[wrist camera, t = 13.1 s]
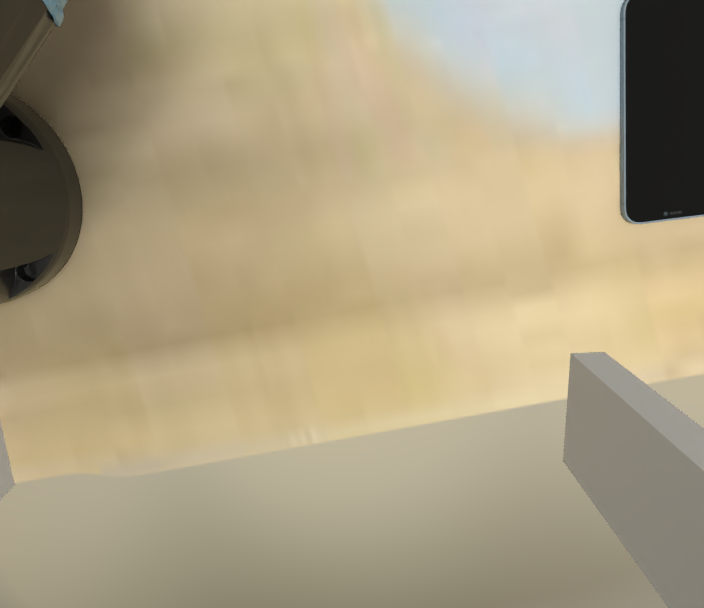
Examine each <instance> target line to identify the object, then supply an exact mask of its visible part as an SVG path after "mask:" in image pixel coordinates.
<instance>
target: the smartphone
mask: <svg viewBox="0 0 704 608" xmlns="http://www.w3.org/2000/svg"><path fill="white" fill-rule="evenodd" d="M620 209H621V214H622V217H623V218H624V219H625V220H626V221H628V222H630V223H635V224H644V223H652V222H660V221H668V220H676V219H684V218H692V217H700V216H704V0H625V1H624V3H623V5H622V8H621V14H620Z"/></svg>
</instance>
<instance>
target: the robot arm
mask: <svg viewBox="0 0 704 608" xmlns="http://www.w3.org/2000/svg"><path fill="white" fill-rule="evenodd" d="M67 1H68V0H0V304H3V303H6V302H9V301H12V300H14V299H17V298H19V297H21V296H23V295H26V294H28V293H30V292H32V291H34V290H36V289H38V288H40V287H41V286H43V285H44V284H46V283H47V282H48V281H50V280H51V279H52V278H53V277H54V276H55V275H56V274H57V273H58V272H59V271H60V270H61V269H62V267H63V266H64V265H65V263H66V262H67V260H68V259H69V257H70V255H71V254H72V251H73V249H74V247H75V245H76V242H77V239H78V235H79V232H80V226H81V219H82V199H81V191H80V186H79V181H78V178H77V174H76V171H75V168H74V166H73V163H72V161H71V159H70V157H69V155H68V153H67V151H66V149H65V147H64V146H63V144H62V142H61V141H60V139H59V138H58V136H57V135H56V134H55V133H54V131H53V130H52V129H51V128H50V126H49V125H48V124H47V123H46V122H45V121H44V120H43V119H42V118H41V117H40V116H39V115H38V114H37V113H36V112H35V111H33V110H32V109H31V108H30V107H28V106H27V105H26V104H24V103H23V102H21V101H20V100H18V99H17V98H15V97H13V96H12V95H10V93H11V91H12V90H13V88H14V87H15V85H16V84H17V82H18V81H19V79H20V78H21V76H22V74H23V73H24V71H25V70H26V68H27V67H28V65H29V64H30V62H31V61H32V59H33V58H34V56H35V55H36V53H37V52H38V50H39V49H40V47H41V46H42V44H43V43H44V41H45V40H46V38H47V37H48V35H49V33H50V32H51V30H52V29H53V27H54V26H55V25H56V26H58V27H59V26H60V25H61V23H62V22H63V18H64V12H63V9H64V7H65V5H66V3H67ZM563 462H564V463H565V464H566V466H567V467H568V469H569V470H570V471H571V473H572V474H573V476H574V477H575V478H576V480H577V481H578V483H579V484H580V485H581V487H582V488H583V489H584V491H585V492H586V493H587V495H588V497H589V498H590V499H591V501H592V502H593V503H594V505H595V506H596V508H597V509H598V510H599V512H600V513H601V515H602V516H603V517H604V519H605V520H606V522H607V523H608V524H609V526H610V527H611V528H612V530H613V531H614V533H615V534H616V536H617V537H618V538H619V540H620V541H621V542H622V544H623V545H624V547H625V548H626V550H627V551H628V552H629V554H630V555H631V557H632V558H633V559H634V561H635V562H636V563H637V565H638V566H639V568H640V569H641V570H642V572H643V573H644V574H645V576H646V577H647V579H648V580H649V582H650V583H651V584H652V586H653V587H654V589H655V590H656V591H657V593H658V594H659V596H660V597H661V598H662V600H663V601H664V602H665V604H666V605H667V607H668V608H704V428H703V427H701V426H700V425H699V424H697V423H696V422H695V421H694V420H692V419H691V418H690V417H688V416H687V415H686V414H684V413H683V412H682V411H680V410H679V409H678V408H677V407H675V406H674V405H673V404H671V403H670V402H669V401H667V400H666V399H665V398H663V397H662V396H661V395H659V394H658V393H657V392H656V391H654V390H653V389H652V388H650V387H649V386H648V385H647V384H645V383H644V382H643V381H641V380H640V379H639V378H637V377H636V376H635V375H634V374H632V373H631V372H630V371H628V370H627V369H626V368H624V367H623V366H622V365H620V364H619V363H618V362H617V361H615V360H614V359H613V358H611V357H610V356H609V355H607V354H606V353H605V352H593V353H571V357H570V371H569V385H568V399H567V414H566V426H565V441H564V454H563ZM14 485H15V484H14V480H13V475H12V471H11V467H10V462H9V458H8V453H7V449H6V444H5V440H4V435H3V431H2V426H1V422H0V500H1V499H2V498H3V497H4V496H5V494H7V493H8V491H10V489H11V488H12V487H13V486H14Z"/></svg>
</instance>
